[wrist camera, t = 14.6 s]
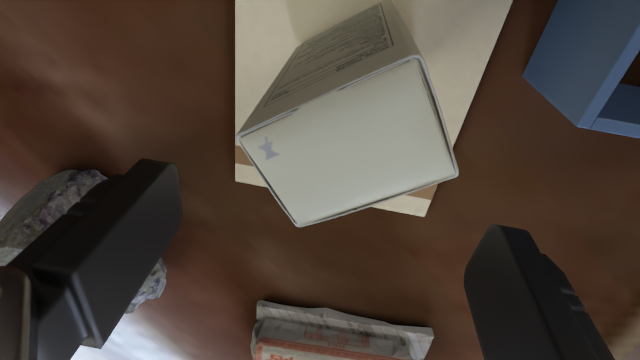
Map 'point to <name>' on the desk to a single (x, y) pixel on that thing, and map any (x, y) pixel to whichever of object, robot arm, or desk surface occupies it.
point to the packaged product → (332, 336)
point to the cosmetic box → (350, 121)
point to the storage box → (590, 64)
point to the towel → (337, 6)
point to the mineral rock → (46, 207)
